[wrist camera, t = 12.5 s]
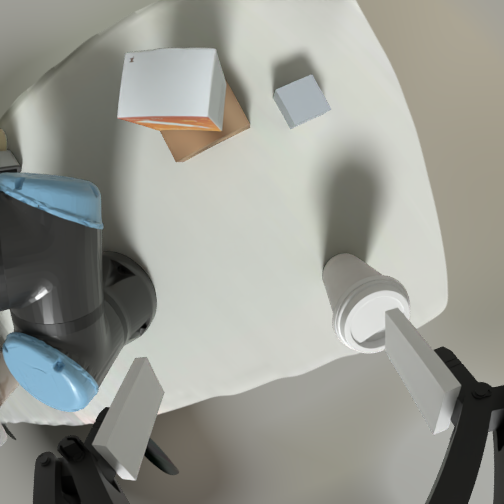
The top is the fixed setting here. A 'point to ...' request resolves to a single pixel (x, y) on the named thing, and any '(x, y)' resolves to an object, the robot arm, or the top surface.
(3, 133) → the coffee cup
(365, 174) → the top surface
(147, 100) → the small box
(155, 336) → the top surface
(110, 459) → the robot arm
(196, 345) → the top surface
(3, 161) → the graphics card
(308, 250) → the top surface
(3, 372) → the lamp
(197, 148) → the walnut block
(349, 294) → the coffee cup
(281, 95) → the grey cube
